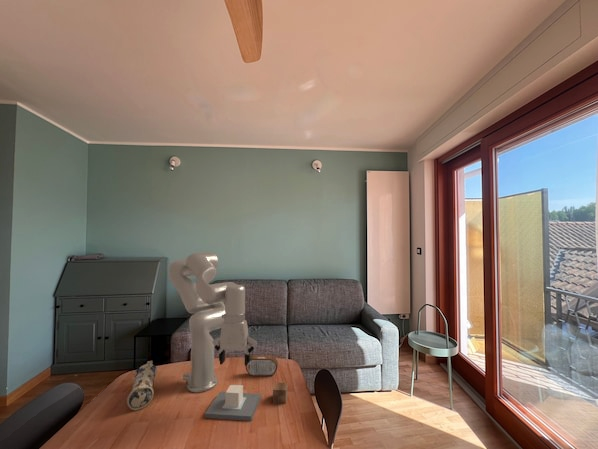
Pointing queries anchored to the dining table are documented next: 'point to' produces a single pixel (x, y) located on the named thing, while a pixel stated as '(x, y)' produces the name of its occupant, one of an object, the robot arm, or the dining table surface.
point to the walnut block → (280, 392)
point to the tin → (262, 366)
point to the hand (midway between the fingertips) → (234, 363)
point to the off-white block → (234, 396)
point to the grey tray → (234, 413)
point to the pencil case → (142, 387)
